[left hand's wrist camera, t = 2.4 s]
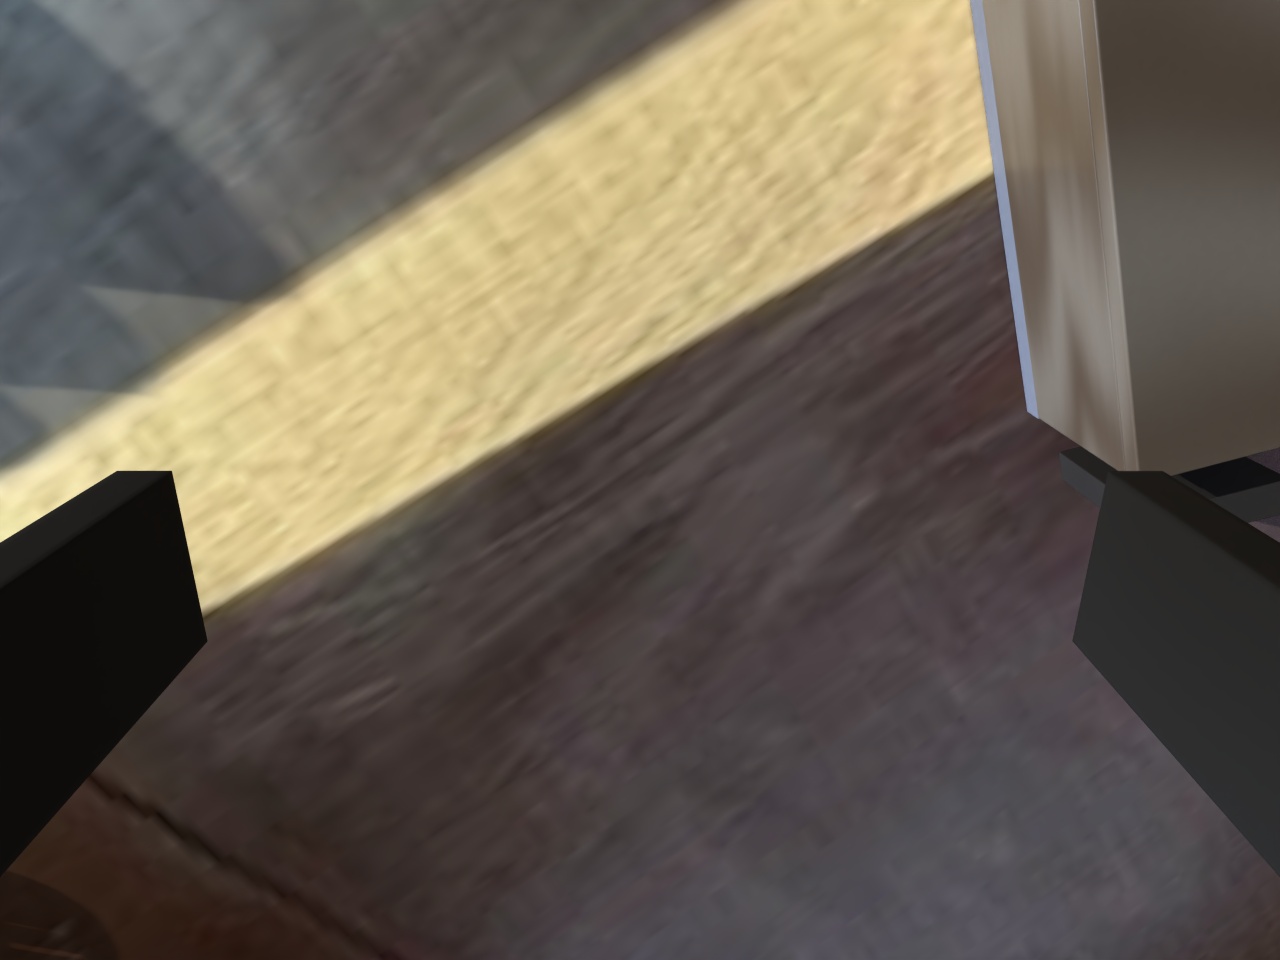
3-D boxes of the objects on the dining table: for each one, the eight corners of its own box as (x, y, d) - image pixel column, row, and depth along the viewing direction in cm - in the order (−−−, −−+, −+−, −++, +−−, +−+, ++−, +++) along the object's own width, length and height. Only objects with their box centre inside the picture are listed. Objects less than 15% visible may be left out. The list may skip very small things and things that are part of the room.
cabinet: (1175, 371, 33) (1331, 435, 25) (1027, 411, 33) (1138, 485, 26) (1129, -241, 26) (1325, -396, 19) (945, -177, 26) (1064, -304, 19)
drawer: (1186, 567, 35) (1295, 650, 29) (1076, 595, 35) (1162, 681, 29) (1136, -98, 27) (1274, -167, 21) (993, -52, 27) (1089, -106, 21)
